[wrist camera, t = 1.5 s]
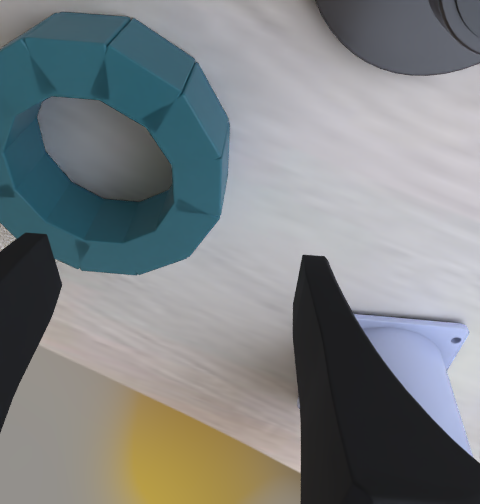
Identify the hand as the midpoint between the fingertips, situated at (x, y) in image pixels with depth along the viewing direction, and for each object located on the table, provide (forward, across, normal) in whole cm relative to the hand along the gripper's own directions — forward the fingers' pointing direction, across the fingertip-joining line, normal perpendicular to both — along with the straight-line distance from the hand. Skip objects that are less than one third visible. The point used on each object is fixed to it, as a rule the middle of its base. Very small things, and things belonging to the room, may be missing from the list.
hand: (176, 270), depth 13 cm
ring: (+8, +4, 0) cm, 8 cm away
